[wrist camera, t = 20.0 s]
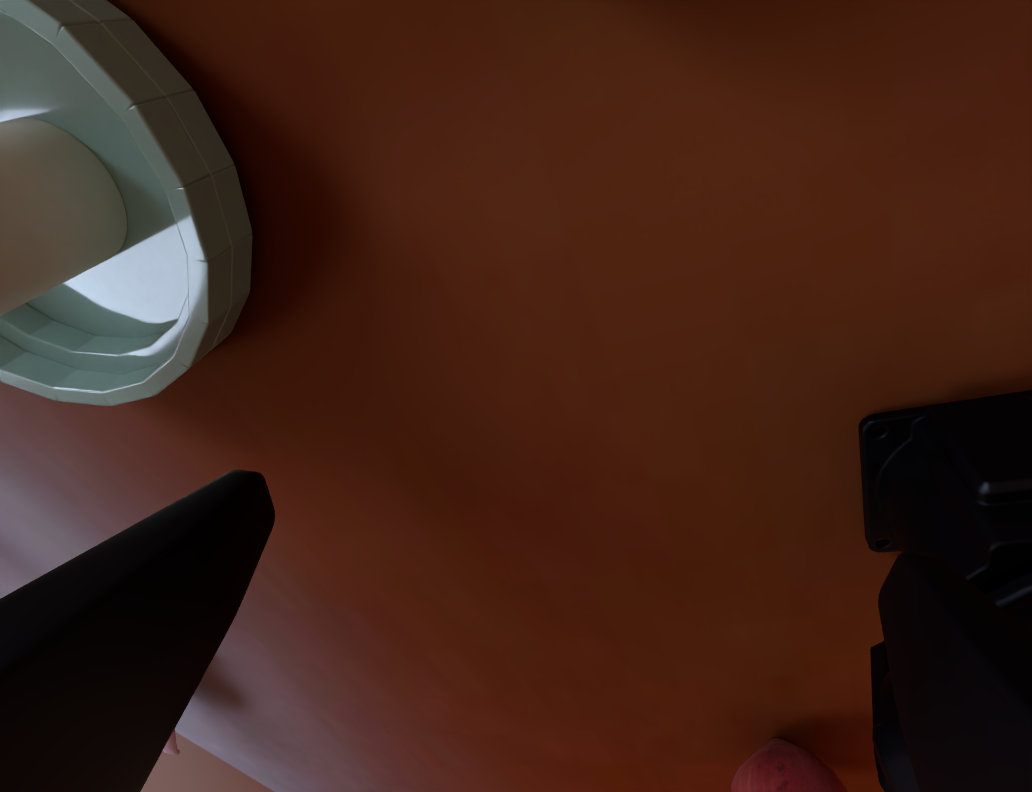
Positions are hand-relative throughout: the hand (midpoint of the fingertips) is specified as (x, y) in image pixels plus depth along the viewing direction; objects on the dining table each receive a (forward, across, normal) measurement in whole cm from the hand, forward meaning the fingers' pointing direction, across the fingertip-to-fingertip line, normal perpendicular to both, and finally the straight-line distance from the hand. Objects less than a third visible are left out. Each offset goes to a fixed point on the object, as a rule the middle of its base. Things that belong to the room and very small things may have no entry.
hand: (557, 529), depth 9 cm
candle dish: (+13, +19, 0) cm, 23 cm away
